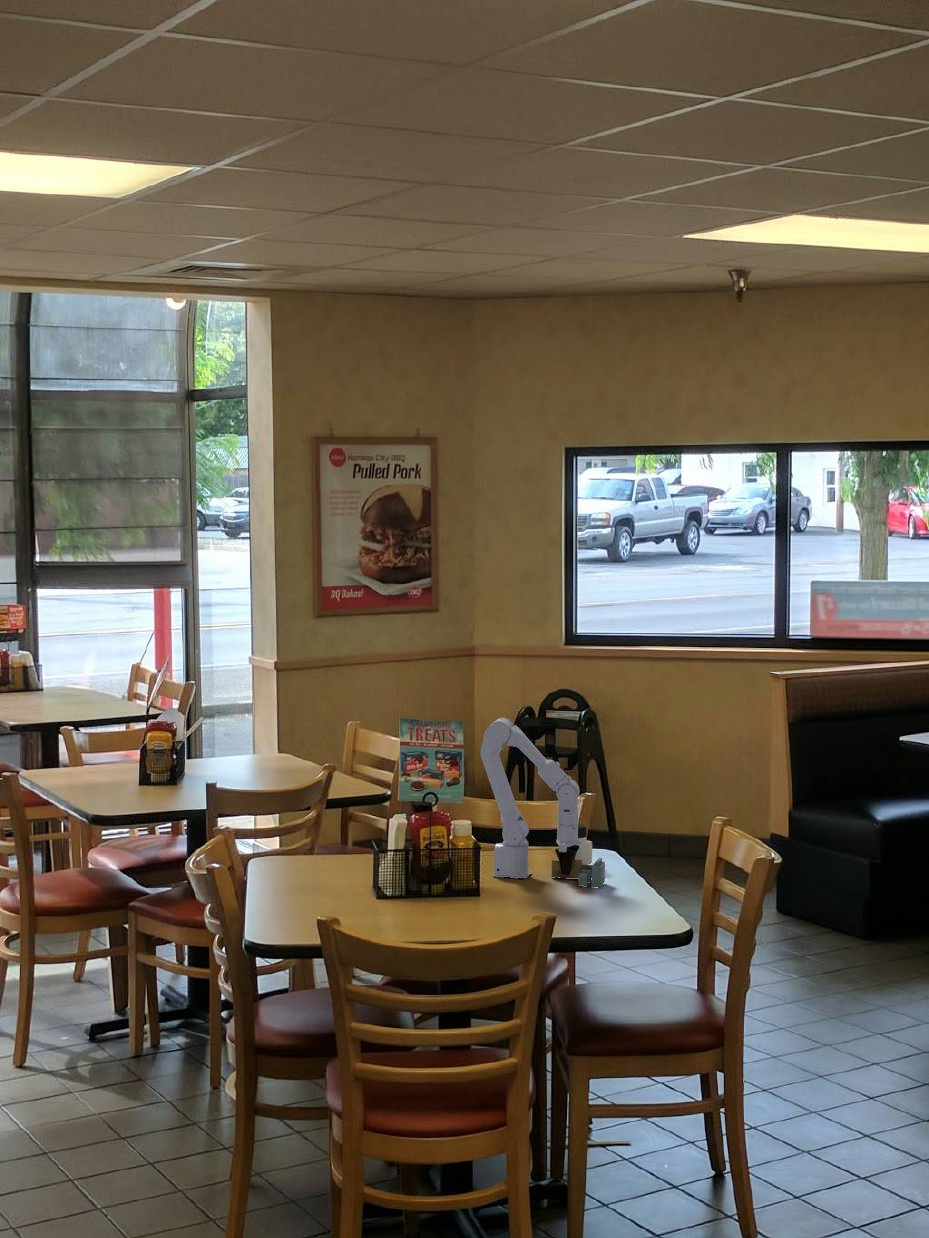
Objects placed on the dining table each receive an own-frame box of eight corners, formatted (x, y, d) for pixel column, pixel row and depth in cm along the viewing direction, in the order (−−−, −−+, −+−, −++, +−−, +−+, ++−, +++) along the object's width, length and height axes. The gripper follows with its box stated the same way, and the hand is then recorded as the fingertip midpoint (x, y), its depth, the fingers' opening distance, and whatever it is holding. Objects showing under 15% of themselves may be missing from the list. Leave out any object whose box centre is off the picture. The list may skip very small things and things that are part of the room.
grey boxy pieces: (578, 887, 394) (578, 861, 394) (582, 881, 400) (582, 856, 400) (600, 888, 392) (601, 863, 392) (604, 883, 399) (605, 858, 398)
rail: (551, 878, 404) (551, 860, 404) (553, 875, 407) (554, 858, 406) (592, 881, 401) (593, 863, 401) (594, 878, 404) (594, 860, 404)
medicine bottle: (592, 865, 421) (592, 824, 420) (580, 870, 415) (581, 828, 414) (570, 862, 425) (571, 821, 424) (558, 866, 419) (559, 825, 418)
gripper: (577, 830, 395) (576, 879, 396) (586, 820, 409) (585, 868, 410) (551, 828, 397) (550, 877, 398) (561, 818, 411) (561, 866, 412)
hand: (566, 872), depth 404 cm, fingers closed on rail, 3 cm apart
